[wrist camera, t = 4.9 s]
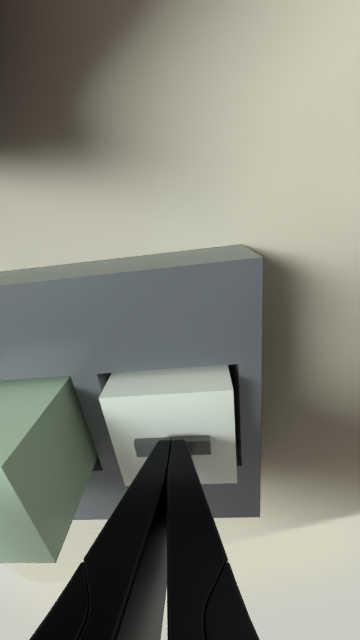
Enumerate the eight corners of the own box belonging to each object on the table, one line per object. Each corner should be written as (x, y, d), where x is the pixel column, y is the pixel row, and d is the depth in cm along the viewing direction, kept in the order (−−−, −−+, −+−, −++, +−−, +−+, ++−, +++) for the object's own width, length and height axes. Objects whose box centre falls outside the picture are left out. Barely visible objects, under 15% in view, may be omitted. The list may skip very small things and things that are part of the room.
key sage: (74, 370, 9) (-6, 475, 5) (100, 448, 11) (51, 571, 7) (-26, 377, 9) (-165, 480, 6) (13, 452, 11) (-77, 571, 7)
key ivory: (220, 332, 11) (234, 394, 7) (224, 405, 12) (238, 488, 8) (128, 339, 11) (95, 403, 7) (144, 410, 12) (123, 492, 9)
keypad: (242, 244, 9) (263, 257, 6) (246, 454, 13) (259, 516, 11) (-157, 289, 11) (-279, 315, 8) (-41, 465, 15) (-94, 522, 12)
